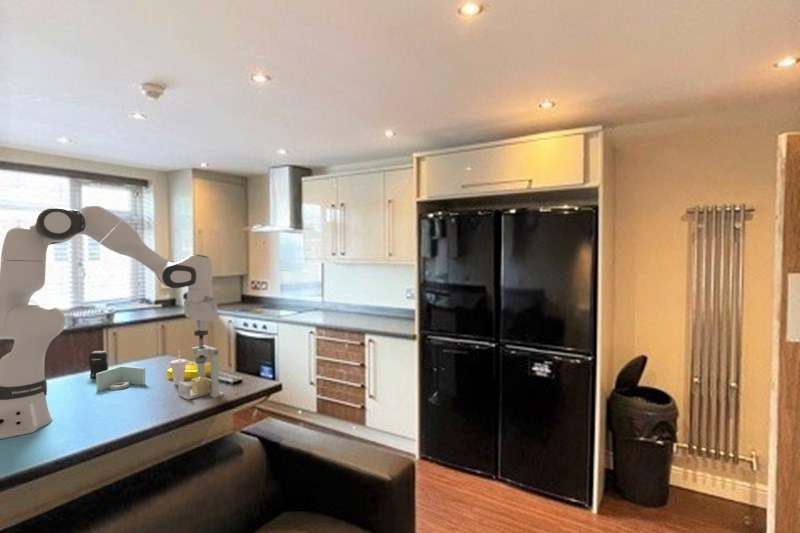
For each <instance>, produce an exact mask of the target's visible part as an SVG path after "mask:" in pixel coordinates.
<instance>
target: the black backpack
mask: <svg viewBox="0 0 800 533" xmlns="http://www.w3.org/2000/svg"><path fill="white" fill-rule="evenodd" d="M109 358H110V357H109V352H108V351H106V350H105V351H104V350H97V351H92V352H91V353H89V354H88V366H90V367H89V368H90V374H89V377H90V379H96V373H100V372H103V371H106V370H109V363H110V362H109Z"/></svg>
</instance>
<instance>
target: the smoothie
mask: <svg viewBox="0 0 800 533" xmlns="http://www.w3.org/2000/svg"><path fill="white" fill-rule="evenodd" d="M177 353H178V359H173V360H171V361H170V362H169V365H170V367H171V368H172V375H173V381H172V382H173V385H174V386H178V382H183V383H185V380H184V377H185V368H186V363H187V362H188V361H187V359H183V358H182V359H181V350H178V351H177Z"/></svg>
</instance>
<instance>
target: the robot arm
mask: <svg viewBox="0 0 800 533" xmlns="http://www.w3.org/2000/svg"><path fill="white" fill-rule="evenodd" d="M77 235H86V236H87V237H90V238H92V239H93V240H94V241H96V242H97V243H99V245H102V246H103V247H104V248H106V249H109V250H110V251H112V252H114V253H116V254H119V255H122V256H126V257H129V258H132V259H134V260H135V261H137V262H139V263H141V264H142V265H143V266H145V267H146V268H148V269H149V270H150V271H152V272H153V273H154V274H155V276H157V279H158V280H159V282H160V283H161V284H162V285H164V286H165V287H167V288H170V289H173V290H178V289H181V288H186V287H187V291H186V292H184V293H183V294H182V299H183V300H184V302H183V310H184V315H185V317H186V318H188V319H189V318H190V319H194V320H195V321H194V322H195V324H196V330H198V331H205V330H206V325H207V323H215V322H217V321H218V319H219V314H218V312H219V311H218V305H217V302H216V301H215V300H214V296H213V295H214V286H213V282H212V281H213V278H214V277H213V274H214V273H213V263H212V260H211V258H210V257H208V256H206V255H201V254H196V253H191V254H190V255H188V256H187V257H185V258H183V259H181V260H178V261H176V262H175V261H171V260H168V259H166V258H164V257H162V256H161V255H160V254H158V253H157V252H156V251H154V250H153V249H152V248H150V247H149V246H148V245H146V243H145V242H144V241H143V239H142V237H141V236H140V234H139V233H138V232H137V230H135V228H134V227H132V226H131V225H130V224H129V223H128V222H127V221H125V219H122V218H121V217H120V216H118V215H116V214H115V213H114V212H111V211H110V210H109V209H106V208H104V207H102V206H100V205H99V204H98V205H97V204H89V205H85V206H84V207H82V208H81V209H80V210H77V209H71V208H65V207H62V206H61V207H60V206H55V207H53V206H52V207H49V208H46V209H44V210H42V211H41V212H40V213H39V215H38V216H37V218H36V223H34V224H33V225H30V226H17V227H12V228H11V229H9V230H8V231H7V232H6V235H5V236H4V237H5V238H4V240H3V244H2V248H1V249H2V250H1V253H0V254H1V255H0V340H13V345H12V349H11V350H10V352H8V353H6V354H4V355H3V356H2V357H0V440H1V439H6V438H12V437H15V436H16V437H17V436H22V435H27V434H31V433H34V432H36V431H38V429H40V428H43V427H45V426H46V425H49V424H50V423H51V422H52V421H53V418H52V416H51V413H50V411H49V407H48V403H47V402H48V401H47V397H46V396H47V394H48V381H47V378H45V364H46V363H45V360H46V359H45V358H46V353H47V351H48V348H49V346H50V344H51V342H52V341H53V340H54V339H55V338H56V337H58V336H59V335H60V334H61V333H62V332H63V331H64V329H65V327H66V316H65V314H64V312H63V311H62V310H61V309H60V308H57V307H54V306H49V305H45V304H29V302H30V300H31V298H32V296H33V295H34V294H35V293H36V292H38V291H40V290H41V289H42V288H43V287H44V286H45V284H46V267H47V266H46V263H47V251H48V247H49V246H51V245H54V244H61V243H65V242H68V241H70V240H72V239H73V238H75V236H77Z"/></svg>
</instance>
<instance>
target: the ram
mask: <svg viewBox="0 0 800 533" xmlns="http://www.w3.org/2000/svg"><path fill="white" fill-rule="evenodd" d="M193 333H194V334H193V336H197V337H198V345H199V349H204V345H205V343H204V336H207V335H209V330H208V329H205V331H198V330H197V329H196V330H194V332H193ZM194 358H195V361H194V362H195V363H198V364H201V363H206V362H209V361H208V360H209V359H208V358H209V357H208V355H205V356H204V355H201V356H197V355H196V356H195V357H194Z"/></svg>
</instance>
